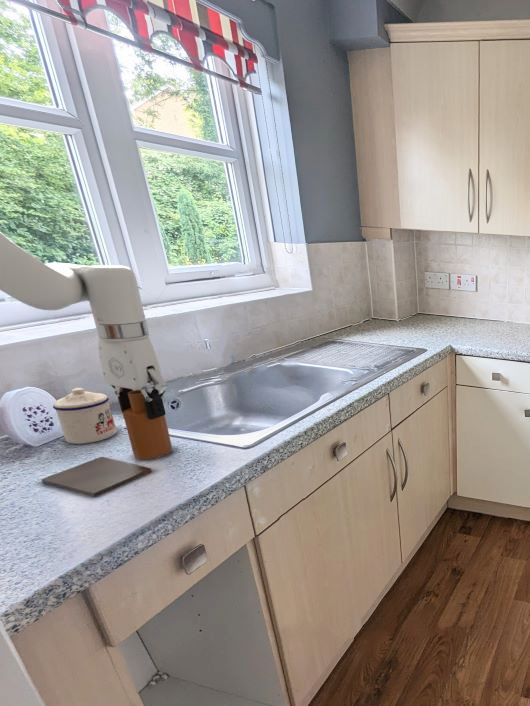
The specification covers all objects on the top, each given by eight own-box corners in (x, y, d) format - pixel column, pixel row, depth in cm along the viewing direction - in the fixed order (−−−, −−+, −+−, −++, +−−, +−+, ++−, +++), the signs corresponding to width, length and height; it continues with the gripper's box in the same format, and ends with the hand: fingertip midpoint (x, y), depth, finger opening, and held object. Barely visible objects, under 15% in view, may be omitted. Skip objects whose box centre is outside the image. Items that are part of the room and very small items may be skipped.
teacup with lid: (108, 442, 102) (94, 393, 98) (56, 447, 99) (38, 397, 95) (129, 422, 113) (117, 377, 109) (82, 426, 109) (68, 380, 105)
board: (42, 482, 86) (41, 479, 86) (102, 459, 95) (101, 456, 95) (95, 497, 82) (93, 493, 82) (152, 471, 91) (151, 468, 91)
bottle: (126, 456, 96) (109, 394, 91) (157, 444, 102) (143, 385, 97) (149, 461, 95) (133, 398, 90) (179, 449, 100) (165, 389, 96)
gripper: (69, 328, 88) (94, 414, 94) (135, 339, 84) (156, 427, 90) (112, 323, 95) (133, 402, 101) (175, 332, 90) (193, 414, 97)
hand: (144, 413), depth 95 cm, fingers closed on bottle, 6 cm apart
